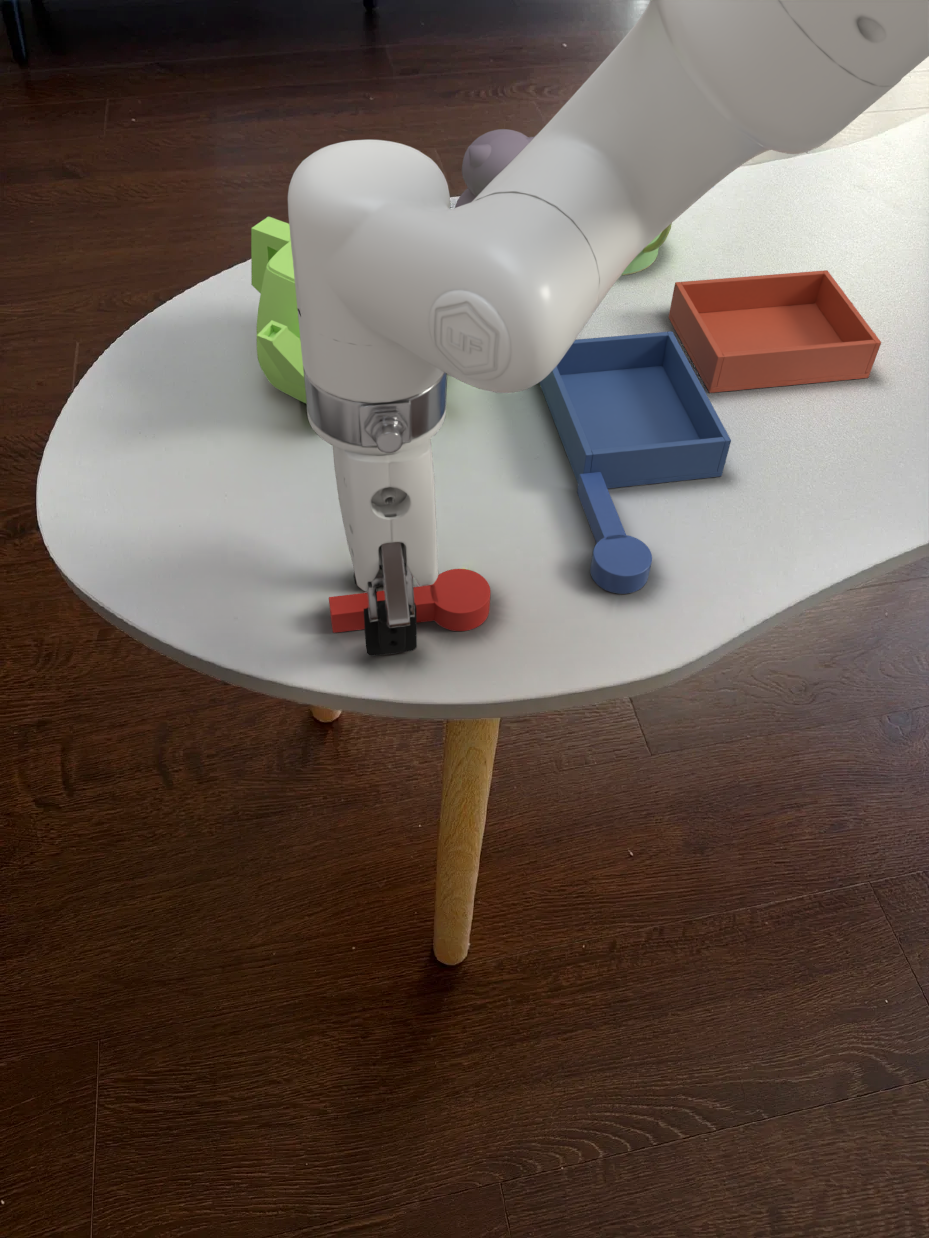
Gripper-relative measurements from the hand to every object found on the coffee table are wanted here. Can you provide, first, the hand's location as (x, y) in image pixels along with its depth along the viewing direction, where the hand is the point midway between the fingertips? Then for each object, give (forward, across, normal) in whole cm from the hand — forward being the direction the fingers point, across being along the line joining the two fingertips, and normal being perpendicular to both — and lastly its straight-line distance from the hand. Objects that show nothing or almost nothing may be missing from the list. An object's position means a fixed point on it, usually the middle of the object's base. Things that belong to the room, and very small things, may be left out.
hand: (384, 612), depth 72 cm
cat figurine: (+1, +42, -16) cm, 45 cm away
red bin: (0, +26, -36) cm, 45 cm away
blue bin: (0, +17, -22) cm, 27 cm away
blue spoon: (0, +5, -16) cm, 17 cm away
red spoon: (0, 0, -2) cm, 2 cm away
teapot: (+1, +25, 0) cm, 25 cm away
